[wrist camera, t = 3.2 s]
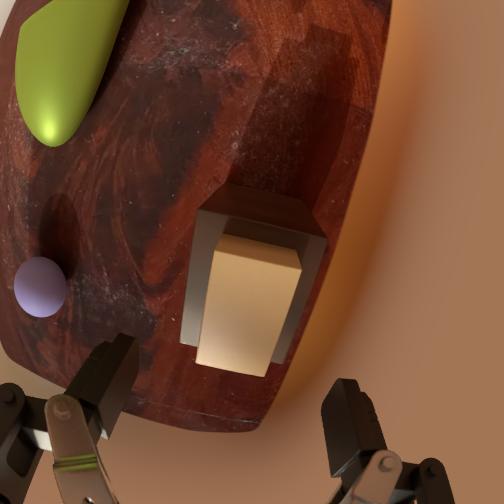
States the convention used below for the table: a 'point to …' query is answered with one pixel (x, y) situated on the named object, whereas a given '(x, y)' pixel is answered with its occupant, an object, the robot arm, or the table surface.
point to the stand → (259, 229)
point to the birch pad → (246, 304)
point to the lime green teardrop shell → (64, 63)
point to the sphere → (40, 286)
